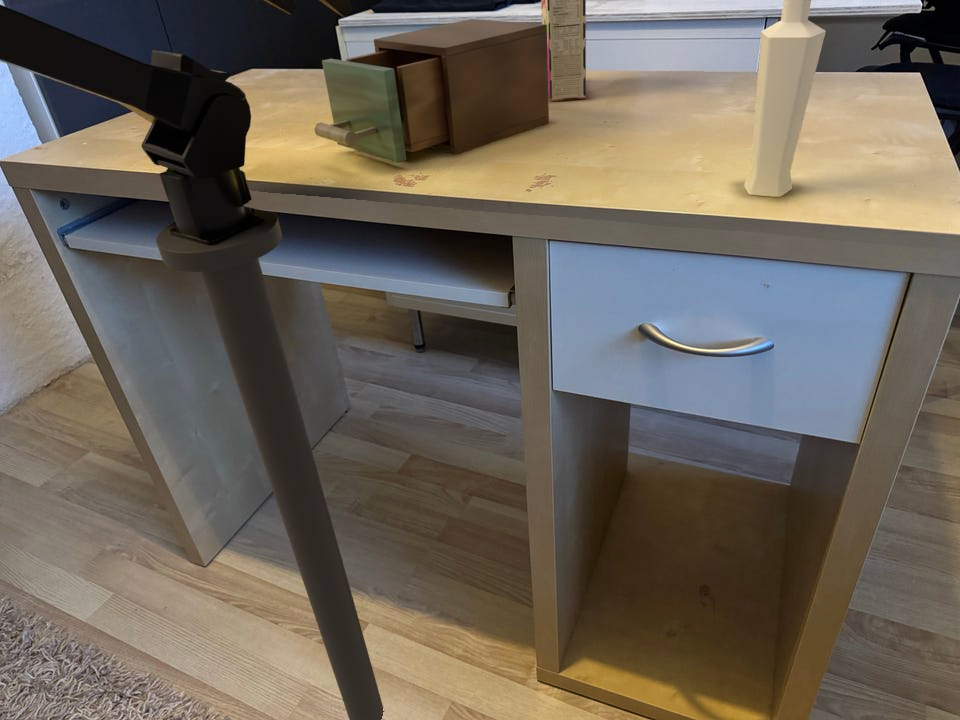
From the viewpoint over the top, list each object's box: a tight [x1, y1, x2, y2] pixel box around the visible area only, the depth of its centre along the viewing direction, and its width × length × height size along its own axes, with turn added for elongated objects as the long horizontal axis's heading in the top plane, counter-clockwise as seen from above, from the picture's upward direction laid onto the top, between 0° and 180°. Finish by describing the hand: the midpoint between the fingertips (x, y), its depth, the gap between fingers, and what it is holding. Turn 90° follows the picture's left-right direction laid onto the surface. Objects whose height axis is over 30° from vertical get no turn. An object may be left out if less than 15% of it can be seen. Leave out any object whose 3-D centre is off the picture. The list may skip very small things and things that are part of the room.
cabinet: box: [373, 18, 550, 155], centre depth 78 cm, size 15×13×11 cm
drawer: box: [314, 49, 450, 164], centre depth 73 cm, size 17×11×9 cm, turn 132°
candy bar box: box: [540, 0, 587, 102], centre depth 89 cm, size 11×5×16 cm, turn 0°
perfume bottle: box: [743, 0, 827, 198], centre depth 55 cm, size 5×4×15 cm
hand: (320, 12), depth 65 cm, fingers open, 9 cm apart
